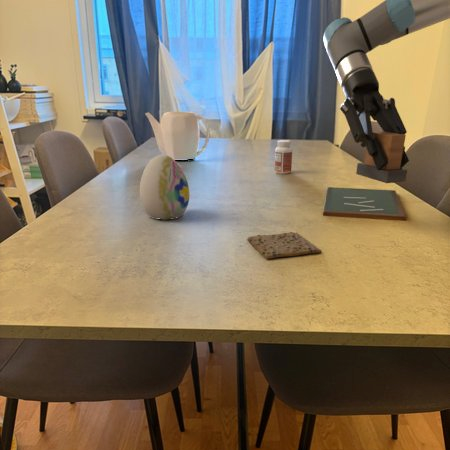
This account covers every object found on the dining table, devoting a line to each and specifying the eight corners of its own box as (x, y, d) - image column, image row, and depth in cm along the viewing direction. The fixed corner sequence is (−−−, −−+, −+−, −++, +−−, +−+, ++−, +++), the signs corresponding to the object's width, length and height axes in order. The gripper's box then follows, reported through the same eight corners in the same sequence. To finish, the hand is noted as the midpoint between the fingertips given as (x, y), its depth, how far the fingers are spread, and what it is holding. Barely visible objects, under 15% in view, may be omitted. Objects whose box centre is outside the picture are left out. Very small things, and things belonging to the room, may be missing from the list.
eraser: (405, 181, 95) (413, 135, 90) (386, 183, 93) (394, 136, 89) (373, 172, 104) (379, 130, 99) (356, 173, 102) (361, 131, 98)
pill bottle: (291, 171, 161) (293, 139, 156) (290, 174, 156) (292, 142, 151) (274, 170, 162) (276, 139, 157) (273, 173, 157) (274, 141, 152)
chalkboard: (394, 193, 130) (395, 190, 129) (405, 220, 106) (406, 216, 105) (326, 190, 134) (327, 186, 134) (322, 215, 110) (323, 211, 109)
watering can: (152, 156, 193) (148, 110, 184) (211, 156, 192) (210, 110, 184) (145, 162, 179) (140, 113, 171) (208, 162, 178) (207, 113, 170)
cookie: (322, 252, 86) (323, 248, 86) (266, 259, 83) (266, 255, 83) (297, 234, 97) (297, 230, 96) (246, 239, 93) (246, 235, 93)
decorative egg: (177, 224, 104) (173, 160, 97) (133, 219, 107) (126, 157, 101) (197, 211, 114) (195, 152, 107) (156, 207, 118) (152, 149, 111)
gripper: (380, 92, 106) (415, 172, 100) (316, 93, 101) (349, 179, 94) (399, 67, 99) (437, 152, 93) (331, 67, 94) (368, 157, 88)
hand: (393, 165), depth 94 cm, fingers closed on eraser, 5 cm apart
